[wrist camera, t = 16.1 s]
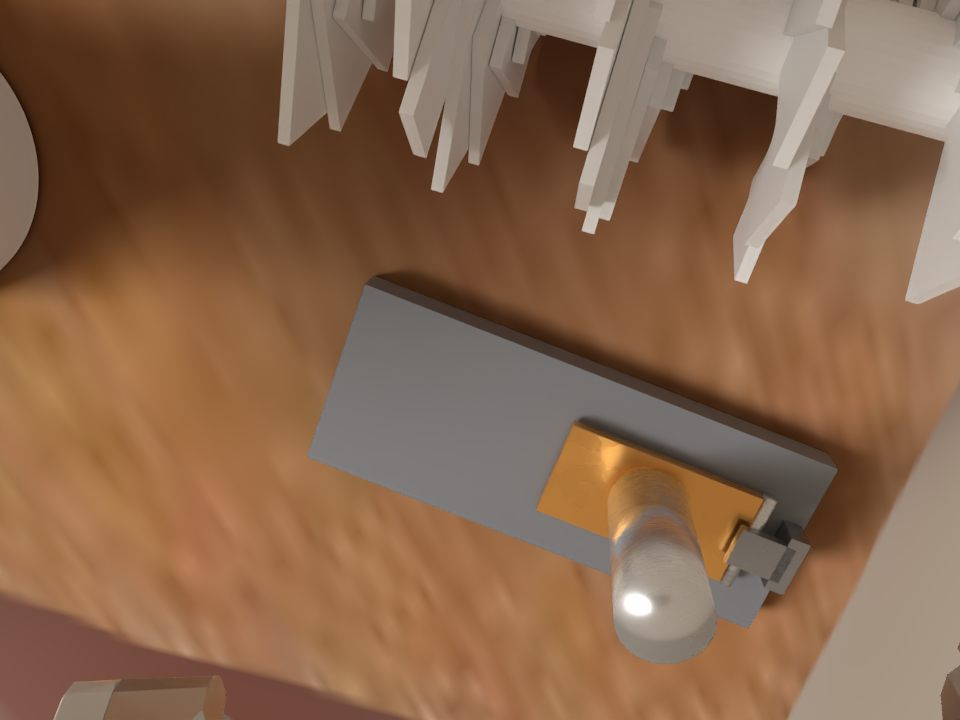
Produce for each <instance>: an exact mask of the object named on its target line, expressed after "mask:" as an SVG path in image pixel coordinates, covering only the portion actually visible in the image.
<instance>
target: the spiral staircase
mask: <svg viewBox="0 0 960 720" xmlns="http://www.w3.org/2000/svg"><path fill="white" fill-rule="evenodd" d="M546 34H547V35H551V36H555V37H558V38H562V39H566V40H569V41H573V42H577V43H580V44H584V45H588V46H592V47H595V48H597V51H596V55H595V59H594V63H593V67H592V71H591V76H590V80H589V84H588V88H587V92H586V96H585V100H584V104H583V108H582V112H581V116H580V120H579V124H578V128H577V132H576V136H575V140H574V145H573V147H574V148H578V149H581V150H585V151H588V148H589V145H590V142H591V138H592V135H593V132H594V129H595V132H594V135H593V138H592V142H591V145H590V148H589V152H588V155H587V158H586V162H585V165H584V168H583V172H582V175H581V178H580V182H579V186H578V192H577V197H576V202H575V207H574V208H576V209H580V210H583V211H587V210H588V211H587V214H586V217H585V221H584V224H583V228H582V231H584V232H587V233H591V234H594V233H595V230H596V226H597V223H598V220H599V218H601V219H604V220H608V221H610V218H611V215H612V212H613V209H614V206H615V203H616V200H617V197H618V194H619V191H620V188H621V185H622V182H623V179H624V176H625V173H626V170H627V167H628V164H629V161H633V162H637V163H638V161H639V158H640V156H641V154H642V151H643V149H644V147H645V145H646V142H647V140H648V138H649V135H650V133H651V131H652V128H653V126H654V124H655V122H656V119H657V117H658V115H659V112H660V110H661V109H663V110H667V111H670V112H673V110H674V107H675V104H676V101H677V98H678V95H679V92H680V89H685V90H688V88H689V85H690V82H691V80H692V77H693V74H695V75H699V76H703V77H706V78H710V79H714V80H718V81H721V82H725V83H729V84H732V85H736V86H740V87H743V88H747V89H751V90H755V91H758V92H762V93H766V94H769V95H773V96H777V97H778V103H777V115H776V126H775V129H774V133H773V137H772V141H771V144H770V146H769V149H768V151H767V154H766V156H765V158H764V159H763V161H762V163H761V165H760V167H759V169H758V171H757V172H756V174H755V176H754V178H753V180H752V183H751V188H750V193H749V198H748V201H747V203H746V206H745V208H744V211H743V213H742V216H741V218H740V221H739V223H738V225H737V228H736V230H735V233H734V235H733V250H734V280H736V281H739V282H743V283H746V284H747V282H748V280H749V278H750V275H751V273H752V271H753V268H754V266H755V264H756V261H757V259H758V257H759V254H760V252H761V250H762V247H763V245H764V243H765V240H766V239H767V238H768V236H769V235H770V234H771V233H772V232H773V231H774V230H775V229H776V227H777V226H778V225H779V224H780V223H781V222H782V221H783V219H784V218H785V217H786V216H787V215H788V214H789V213H790V212H791V210H792V209H793V208H794V207H795V206H796V204H797V200H798V196H799V192H800V188H801V184H802V180H803V176H804V172H805V168H807V167H808V166H810V165H812V164H813V163H815V162H817V161H819V158H820V156H823V157H824V155H825V153H826V151H827V148H828V146H829V144H830V142H831V139H832V137H833V135H834V132H835V130H836V128H837V126H838V123H839V121H840V120H841V118H842V117H843V115H847V116H851V117H855V118H858V119H862V120H866V121H869V122H873V123H877V124H881V125H884V126H888V127H892V128H895V129H899V130H903V131H906V132H910V133H914V134H918V135H921V136H925V137H929V138H932V139H936V140H940V141H944V142H945V143H944V147H943V151H942V155H941V159H940V163H939V167H938V171H937V175H936V179H935V183H934V187H933V191H932V195H931V199H930V203H929V207H928V211H927V215H926V219H925V223H924V227H923V231H922V235H921V238H920V242H919V246H918V250H917V254H916V258H915V262H914V266H913V270H912V274H911V278H910V282H909V286H908V290H907V294H906V298H905V301H909V302H912V303H916V304H920V303H923V302H925V301H927V300H929V299H932V298H934V297H936V296H939V295H941V294H943V293H946V292H948V291H950V290H952V289H955V288H957V287H959V286H960V0H287V5H286V20H285V35H284V51H283V66H282V81H281V97H280V112H279V127H278V143H280V144H283V145H287V146H290V145H291V144H292V143H294V142H295V141H296V140H297V139H298V138H299V137H300V136H301V135H303V134H304V133H305V132H306V131H307V130H308V129H309V128H310V127H311V126H313V125H314V124H315V123H316V122H317V121H318V120H319V119H320V118H322V117H323V116H324V115H325V114H326V113H327V114H328V120H329V127H330V129H332V130H336V131H339V132H341V130H342V127H343V125H344V123H345V121H346V119H347V117H348V114H349V112H350V110H351V108H352V106H353V104H354V101H355V99H356V97H357V95H358V93H359V91H360V88H361V86H362V84H363V82H364V80H365V78H366V76H367V73H368V71H369V69H370V67H371V65H372V63H373V64H374V65H375V67H376V68H377V69H379V70H382V71H386V72H388V69H389V66H390V62H391V58H392V55H393V51H394V56H393V77H395V78H398V79H402V80H406V81H408V79H409V81H408V84H407V88H406V91H405V94H404V97H403V100H402V103H401V106H400V109H399V115H400V117H401V120H402V123H403V126H404V129H405V132H406V135H407V138H408V140H409V143H410V146H411V149H412V152H413V155H416V156H420V157H423V158H427V155H428V151H429V148H430V145H431V142H432V139H433V136H434V133H435V129H436V126H437V123H438V120H439V117H440V114H441V111H442V107H443V104H444V101H445V105H444V111H443V117H442V124H441V130H440V136H439V142H438V149H437V155H436V161H435V167H434V174H433V180H432V186H431V190H434V191H438V192H441V193H443V192H444V190H445V188H446V187H447V185H448V183H449V181H450V180H451V178H452V176H453V175H454V173H455V171H456V169H457V168H458V166H459V164H460V162H461V161H462V159H463V157H464V156H465V154H466V152H467V150H468V149H469V156H468V163H471V164H475V165H478V166H479V164H480V161H481V159H482V156H483V153H484V150H485V147H486V145H487V142H488V139H489V136H490V133H491V131H492V128H493V125H494V122H495V119H496V116H497V114H498V111H499V108H500V105H501V102H502V100H503V97H504V94H505V91H506V93H507V94H508V95H509V96H513V97H516V98H518V97H519V93H520V90H521V86H522V83H523V79H524V75H525V72H526V68H527V64H528V61H529V57H530V54H531V51H532V49H533V47H534V45H535V44H536V42H537V40H538V38H539V37H540V35H542V36H546ZM409 77H410V78H409ZM605 94H606V95H605ZM445 98H446V99H445ZM602 104H603V105H602ZM601 107H602V108H601ZM600 110H601V111H600ZM599 113H600V115H599ZM598 116H599V118H598ZM597 120H598V121H597ZM596 123H597V125H596ZM595 126H596V128H595ZM590 200H591V201H590Z"/></svg>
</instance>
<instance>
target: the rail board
mask: <svg viewBox="0 0 960 720" xmlns="http://www.w3.org/2000/svg"><path fill="white" fill-rule="evenodd" d="M573 420H576V421H579V422H581V423H584V424H586V425H589V426H592V427H594V428H597V429H599V430H602V431H604V432H607V433H610V434H612V435H615V436H617V437H620V438H622V439H625V440H627V441H630V442H633V443H635V444H638V445H640V446H643V447H645V448H648V449H650V450H653V451H656V452H658V453H661V454H663V455H666V456H668V457H671V458H673V459H676V460H679V461H681V462H684V463H686V464H689V465H691V466H694V467H697V468H699V469H702V470H704V471H707V472H709V473H712V474H714V475H717V476H720V477H722V478H725V479H727V480H730V481H732V482H735V483H737V484H740V485H743V486H745V487H748V488H750V489H753V490H755V491H758V492H760V493H761V495H762V494H763V493H768V494H771V495H772V496H774V497H775V498H777V500H778V502H777V504H776V506H775V508H774V510H773V512H772V513H771V515H770V517H769V519H768V521H767V523H766V524H765V526H764V528H763V530H762V532H763V533H766V534H768V535H771V536H773V537H774V535H775V533H776V532H777V530H778V528H779V526H780V524H781V522H782V521H783V519H784V520H787V521H789V522H792V523H794V524H797V525H799V526H802V528H803V530H804V529H805V528H806V526H807V524H808V522H809V520H810V519H811V517H812V515H813V513H814V512H815V510H816V508H817V506H818V505H819V503H820V501H821V499H822V497H823V496H824V494H825V492H826V490H827V489H828V487H829V485H830V483H831V482H832V480H833V478H834V476H835V474H836V473H837V471H838V468H837V467H836V465H835V464H834V462H833V460H832V459H831V457H830V456H829V454H828V453H826V452H823V451H821V450H818V449H816V448H813V447H811V446H808V445H806V444H803V443H800V442H798V441H795V440H793V439H790V438H788V437H785V436H783V435H780V434H777V433H775V432H772V431H770V430H767V429H765V428H762V427H760V426H757V425H755V424H752V423H749V422H747V421H744V420H742V419H739V418H737V417H734V416H732V415H729V414H726V413H724V412H721V411H719V410H716V409H714V408H711V407H709V406H706V405H703V404H701V403H698V402H696V401H693V400H691V399H688V398H686V397H683V396H680V395H678V394H675V393H673V392H670V391H668V390H665V389H663V388H660V387H657V386H655V385H652V384H650V383H647V382H645V381H642V380H640V379H637V378H634V377H632V376H629V375H627V374H624V373H622V372H619V371H617V370H614V369H611V368H609V367H606V366H604V365H601V364H599V363H596V362H594V361H591V360H589V359H586V358H583V357H581V356H578V355H576V354H573V353H571V352H568V351H566V350H563V349H560V348H558V347H555V346H553V345H550V344H548V343H545V342H543V341H540V340H537V339H535V338H532V337H530V336H527V335H525V334H522V333H520V332H517V331H514V330H512V329H509V328H507V327H504V326H502V325H499V324H497V323H494V322H491V321H489V320H486V319H484V318H481V317H479V316H476V315H474V314H471V313H468V312H466V311H463V310H461V309H458V308H456V307H453V306H451V305H448V304H445V303H443V302H440V301H438V300H435V299H433V298H430V297H428V296H425V295H423V294H420V293H417V292H415V291H412V290H410V289H407V288H405V287H402V286H400V285H397V284H394V283H392V282H389V281H387V280H384V279H382V278H379V277H377V276H373V277H372V278H371V279H370V280H369V281H368V282H367V283H366V284H365V286H364V289H363V292H362V295H361V298H360V301H359V304H358V307H357V310H356V313H355V316H354V319H353V322H352V325H351V328H350V331H349V334H348V337H347V340H346V343H345V346H344V349H343V352H342V354H341V357H340V360H339V363H338V366H337V369H336V372H335V375H334V378H333V381H332V384H331V387H330V390H329V393H328V396H327V399H326V402H325V405H324V408H323V411H322V414H321V417H320V420H319V422H318V425H317V428H316V431H315V434H314V437H313V440H312V443H311V446H310V449H309V452H308V455H307V457H308V458H311V459H313V460H316V461H319V462H321V463H324V464H326V465H329V466H331V467H334V468H336V469H339V470H342V471H344V472H347V473H349V474H352V475H354V476H357V477H360V478H362V479H365V480H367V481H370V482H372V483H375V484H378V485H380V486H383V487H385V488H388V489H390V490H393V491H396V492H398V493H401V494H403V495H406V496H408V497H411V498H414V499H416V500H419V501H421V502H424V503H426V504H429V505H432V506H434V507H437V508H439V509H442V510H444V511H447V512H450V513H452V514H455V515H457V516H460V517H462V518H465V519H468V520H470V521H473V522H475V523H478V524H480V525H483V526H486V527H488V528H491V529H493V530H496V531H498V532H501V533H504V534H506V535H509V536H511V537H514V538H516V539H519V540H521V541H524V542H527V543H529V544H532V545H534V546H537V547H539V548H542V549H545V550H547V551H550V552H552V553H555V554H557V555H560V556H563V557H565V558H568V559H570V560H573V561H575V562H578V563H581V564H583V565H586V566H588V567H591V568H593V569H596V570H599V571H601V572H604V573H606V574H609V575H611V562H610V544H609V538H606V537H604V536H601V535H599V534H596V533H593V532H591V531H588V530H586V529H583V528H581V527H578V526H575V525H573V524H570V523H568V522H565V521H563V520H560V519H557V518H555V517H552V516H550V515H547V514H545V513H542V512H540V511H537V510H536V506H537V501H538V499H539V497H540V495H541V492H542V490H543V488H544V486H545V483H546V481H547V479H548V477H549V474H550V472H551V470H552V468H553V465H554V463H555V461H556V459H557V456H558V454H559V452H560V450H561V447H562V445H563V443H564V441H565V438H566V436H567V434H568V431H569V429H570V427H571V425H572V422H573ZM708 581H709V585H710V589H711V593H712V597H713V601H714V605H715V609H716V614H717V617H719V618H722V619H724V620H727V621H730V622H732V623H735V624H737V625H740V626H742V627H745V628H749V627H750V625H751V623H752V621H753V620H754V618H755V616H756V614H757V613H758V611H759V609H760V607H761V605H762V604H763V602H764V600H765V598H766V597H767V595H768V593H769V591H770V590H768V589H765V588H764V586H763V583H762V581H761V578H760V576H757V575H755V574H752V573H749V572H747V571H744V570H742V569H741V570H740V572H739V574H738V576H737V577H736V579H735V581H734V583H733V585H732V586H731V587H727V586H725V585H723V584H721V583H720V582H719V581H717V580H714V579H711V578H709V577H708Z"/></svg>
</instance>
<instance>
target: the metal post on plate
mask: <svg viewBox="0 0 960 720" xmlns="http://www.w3.org/2000/svg"><path fill="white" fill-rule="evenodd" d="M777 502H778V500H777V498H775V497H774V496H772V495H771V494H768V493H763V494H762V495H761V493H760V492H758V491H755V490H753V489H750V488H748V487H745V486H743V485H740V484H737V483H735V482H732V481H730V480H727V479H725V478H722V477H720V476H717V475H714V474H712V473H709V472H707V471H704V470H702V469H699V468H697V467H694V466H691V465H689V464H686V463H684V462H681V461H679V460H676V459H673V458H671V457H668V456H666V455H663V454H661V453H658V452H656V451H653V450H650V449H648V448H645V447H643V446H640V445H638V444H635V443H633V442H630V441H627V440H625V439H622V438H620V437H617V436H615V435H612V434H610V433H607V432H604V431H602V430H599V429H597V428H594V427H592V426H589V425H586V424H584V423H581V422H579V421H576V420H573V422H572V425H571V427H570V429H569V431H568V434H567V436H566V438H565V441H564V443H563V445H562V447H561V450H560V452H559V454H558V456H557V459H556V461H555V463H554V465H553V468H552V470H551V472H550V474H549V477H548V479H547V481H546V483H545V486H544V488H543V490H542V492H541V495H540V497H539V499H538V501H537V506H536V510H537V511H540V512H542V513H545V514H547V515H550V516H552V517H555V518H557V519H560V520H563V521H565V522H568V523H570V524H573V525H575V526H578V527H581V528H583V529H586V530H588V531H591V532H593V533H596V534H599V535H601V536H604V537H606V538H609V544H610V562H611V580H612V598H613V617H614V627H615V631H616V634H617V636H618V638H619V640H620V641H621V643H622V644H623V645H624V647H625V648H626V649H627V650H628V651H630V652H631V653H632V654H634V655H635V656H637V657H639V658H641V659H643V660H646V661H649V662H653V663H658V664H674V663H679V662H683V661H686V660H689V659H691V658H693V657H695V656H696V655H698V654H699V653H701V652H702V651H703V650H704V649H705V648H706V647H707V646H708V645H709V643H710V642H711V640H712V639H713V636H714V634H715V631H716V627H717V614H716V609H715V605H714V601H713V597H712V593H711V589H710V585H709V581H708V577H709V578H711V579H714V580H717V581H719V582H720V583H721V584H723V585H725V586H727V587H731V586H732V585H733V583H734V581H735V579H736V577H737V576H738V574H739V572H740V570H741V569H739V568H737V567H734V566H731V565H729V564H726V563H725V560H724V555H725V553H726V552H727V550H728V548H729V546H730V544H731V542H732V540H733V538H734V537H735V535H736V533H737V531H738V529H739V527H740V525H741V524H743V525H745V526H748V527H750V528H753V529H755V530H758V531H760V532H762V530H763V528H764V526H765V524H766V523H767V521H768V519H769V517H770V515H771V513H772V512H773V510H774V508H775V506H776V504H777Z"/></svg>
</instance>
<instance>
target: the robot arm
mask: <svg viewBox="0 0 960 720" xmlns="http://www.w3.org/2000/svg"><path fill="white" fill-rule="evenodd" d="M38 181H39V176H38V163H37V155H36V150H35V145H34V141H33V137H32V133H31V130H30V127H29V124H28V122H27V119H26V116H25V114H24V112H23V110H22V107H21V105H20V103H19V101H18V99H17V98H16V96H15V94H14V92H13V91H12V89H11V87H10V86H9V84H8V83H7V81H6V80H5V78H4V77H3V76H2V74H1V73H0V270H1V269H2V268H3V267H4V266H5V265H6V264H7V263H8V262H9V261H10V260H11V259H12V257H13V256H14V255H15V254H16V252H17V251H18V249H19V248H20V246H21V245H22V243H23V241H24V239H25V238H26V236H27V234H28V231H29V229H30V226H31V223H32V220H33V217H34V213H35V209H36V204H37V198H38ZM958 650H959V651H960V643H959V646H958ZM226 696H227V695H226V692H225V689H224V686H223V683H222V680H221V677H220V676H203V677H176V678H151V679H126V680H125V679H122V680H104V681H86V682H74V683H73V684H72V686H71V687H70V688H69V690H68V691H67V692H66V693H65V695H64V696H63V697H62V699H61V702H60V704H59V707H58V709H57V712H56V714H55V717H54V720H232V719H230V718H229V717H227V716H226V715H224V714H223V711H224V706H225V701H226ZM941 705H942V717H943V720H960V665H959V666H958V667H957V668H955V669H954V670H953V671H951V672H950V673H949V674H947V677H946V680H945V683H944V686H943V689H942V692H941Z"/></svg>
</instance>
